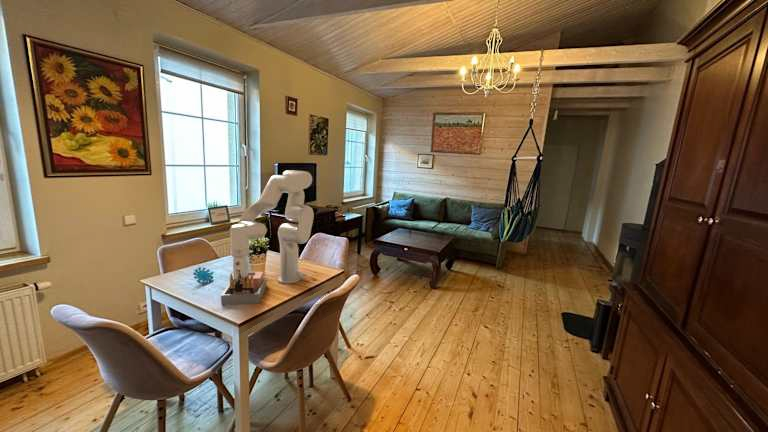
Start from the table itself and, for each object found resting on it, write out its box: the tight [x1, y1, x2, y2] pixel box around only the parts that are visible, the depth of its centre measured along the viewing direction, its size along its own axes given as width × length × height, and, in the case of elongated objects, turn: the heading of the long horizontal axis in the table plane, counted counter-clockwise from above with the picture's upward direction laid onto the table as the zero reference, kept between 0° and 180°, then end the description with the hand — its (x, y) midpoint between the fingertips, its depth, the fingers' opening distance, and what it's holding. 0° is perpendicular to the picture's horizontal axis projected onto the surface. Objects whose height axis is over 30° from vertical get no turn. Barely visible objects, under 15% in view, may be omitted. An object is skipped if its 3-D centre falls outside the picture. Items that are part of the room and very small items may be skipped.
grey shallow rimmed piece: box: [220, 276, 267, 306], centre depth 148 cm, size 20×16×4 cm
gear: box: [192, 266, 215, 285], centre depth 161 cm, size 11×6×10 cm
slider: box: [232, 270, 264, 290], centre depth 153 cm, size 9×13×7 cm
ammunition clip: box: [229, 273, 255, 294], centre depth 141 cm, size 11×2×12 cm, turn 101°
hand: (241, 287), depth 141 cm, fingers open, 9 cm apart
